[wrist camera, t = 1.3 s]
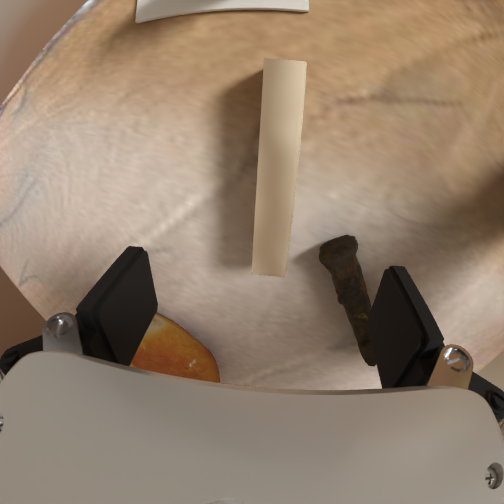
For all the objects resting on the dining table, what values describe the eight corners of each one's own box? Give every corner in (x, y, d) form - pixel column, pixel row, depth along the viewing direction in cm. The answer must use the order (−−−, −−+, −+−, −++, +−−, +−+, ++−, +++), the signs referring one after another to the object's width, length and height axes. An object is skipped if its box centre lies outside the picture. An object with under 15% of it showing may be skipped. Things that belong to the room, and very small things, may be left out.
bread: (156, 262, 32) (118, 319, 23) (252, 376, 41) (245, 431, 32) (69, 310, 39) (38, 350, 31) (153, 392, 48) (138, 433, 40)
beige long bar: (302, 70, 20) (306, 62, 16) (285, 249, 29) (284, 277, 25) (267, 67, 20) (264, 58, 16) (256, 247, 29) (251, 273, 25)
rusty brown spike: (315, 241, 28) (319, 265, 24) (351, 229, 27) (362, 252, 23) (351, 351, 36) (355, 377, 32) (377, 344, 35) (384, 369, 31)
